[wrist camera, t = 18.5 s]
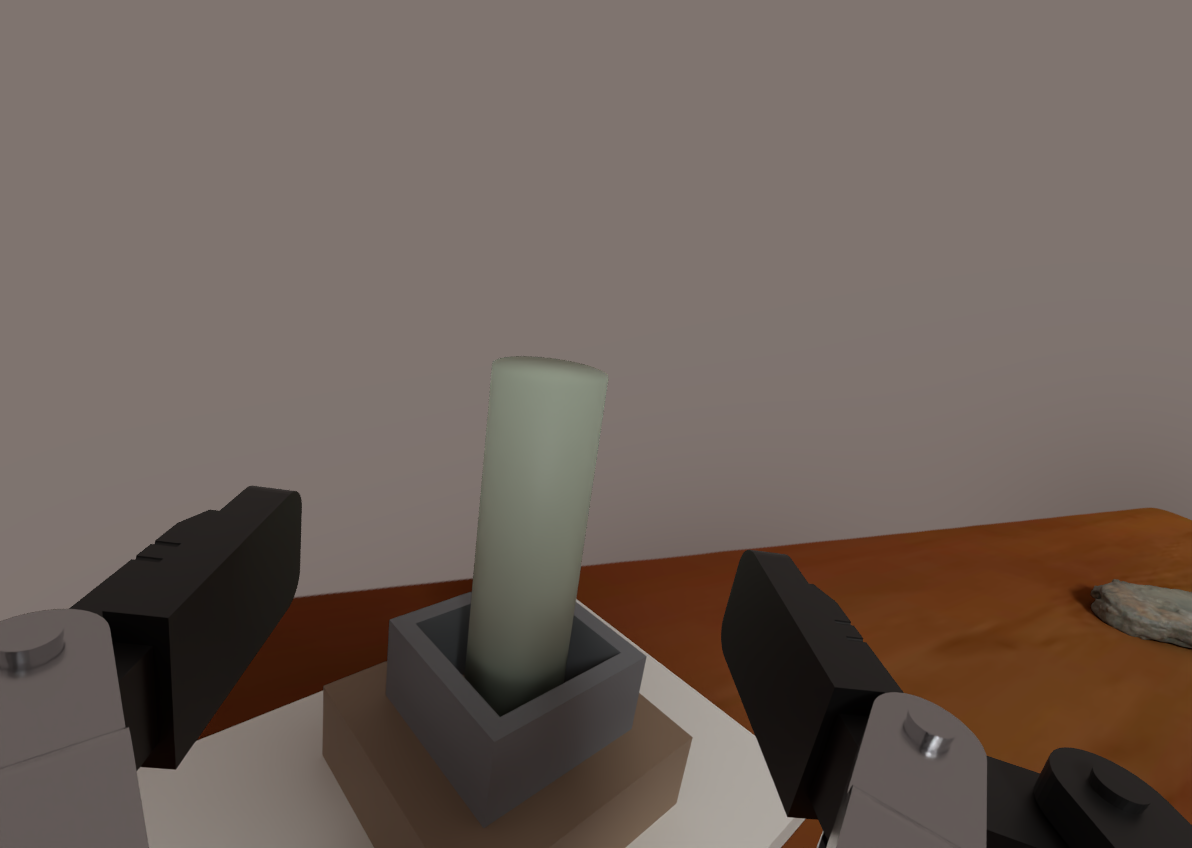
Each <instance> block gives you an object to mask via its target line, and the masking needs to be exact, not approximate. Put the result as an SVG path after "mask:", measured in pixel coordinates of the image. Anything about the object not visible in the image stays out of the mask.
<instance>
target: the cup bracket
mask: <svg viewBox="0 0 1192 848" xmlns="http://www.w3.org/2000/svg"><path fill="white" fill-rule="evenodd" d="M471 598H472V592H469V593H466V594H463V595H460V596H457V597H454V598H451V599H449V600H446V601H443V602H440V603H437V604H434V605H431V606H428V607H425V608H422V609H420V610H417V611H414V612H411V613H408V614H405V615H402V616H399V617H396V618H393V619H390V620H389V639H388V658H387V661H386V662H383V663H380V664H378V665H375V666H373V667H370V668H368V669H365V670H363V671H360V672H358V673H355V674H352V675H350V676H347V677H345V678H342V679H340V680H337V681H335V682H332V683H330V684H327V685H324V686H323V691H321V692H318V693H316V694H313V695H311V696H308V697H306V698H303V699H301V700H298V701H296V702H293V703H290V704H288V705H285V706H283V707H280V708H278V709H275V710H273V711H270V712H268V713H265V714H263V715H260V716H258V717H255V718H253V719H250V720H248V721H245V722H243V723H240V724H238V725H235V726H233V727H230V728H228V729H225V730H223V731H220V732H218V733H215V734H213V735H210V736H208V737H205V738H203V739H200V740H197V741H196V742H195V743H194V744H193V746H192V747H191V749H190V750H189V752H188V753H187V754H186V756H185V757H184V759H183V760H182V762H181V763H180V765H179V766H178V767H177V769H176V770H173V769H160V768H146V767H140V768H139V769H138V770H137V777H138V783H139V789H140V795H141V801H142V807H143V813H144V819H145V825H146V831H147V838H148V844H149V848H781V847H782V846H783V845H784V843H785V842H786V841H787V840H788V839H789V838H790V836H791V835H792V834H793V833H794V832H795V830H796V829H797V828H798V827H799V826H800V825H801V823H802V822H803V821H804V820H805V818H791V817H787V815H786V813H785V810H784V807H783V805H782V802H781V800H780V797H779V795H778V792H777V790H776V787H775V785H774V782H773V779H772V777H771V774H770V772H769V769H768V767H767V764H766V762H765V759H764V756H763V754H762V751H761V749H760V746H759V744H758V741H757V739H756V736H754V735H753V734H752V733H750V732H749V731H748V730H746V729H745V728H744V727H743V726H741V725H740V724H739V723H737V722H736V721H735V720H733V719H732V718H731V717H730V716H728V715H727V714H726V713H724V712H723V711H722V710H720V709H719V708H718V707H716V706H715V705H714V704H713V703H711V702H710V701H709V700H707V699H706V698H705V697H703V696H702V695H701V694H700V693H698V692H697V691H696V690H694V689H693V688H692V687H690V686H689V685H688V684H686V683H685V682H684V681H683V680H681V679H680V678H679V677H677V676H676V675H675V674H673V673H672V672H671V671H670V670H668V669H667V668H666V667H664V666H663V665H662V664H660V663H659V662H658V661H656V660H655V659H654V658H653V657H651V656H650V655H649V654H647V653H646V652H645V651H643V650H642V649H641V648H640V647H638V646H637V645H636V644H634V643H633V642H632V641H630V640H629V639H628V638H626V637H625V636H624V635H623V634H621V633H620V632H619V631H617V630H616V629H615V628H613V627H612V626H611V625H610V624H608V623H607V622H606V621H604V620H603V619H602V618H600V617H599V616H598V615H596V614H595V613H594V612H593V611H591V610H590V609H589V608H587V607H586V606H585V605H583V604H582V603H581V602H580V601H578V600H577V599H576V603H575V610H574V617H573V623H572V630H571V637H570V644H569V651H568V658H567V664H566V671H565V678H564V683H563V684H561V685H560V686H558V687H556V688H554V689H552V690H550V691H548V692H546V693H545V694H543V695H541V696H539V697H537V698H535V699H533V700H531V701H530V702H528V703H526V704H524V705H522V706H520V707H518V708H516V709H515V710H513V711H511V712H509V713H507V714H505V715H503V716H501V717H499V715H498V714H497V713H496V712H495V711H494V710H493V709H492V708H491V707H490V706H489V704H488V703H487V702H486V701H485V700H484V699H483V698H482V697H481V696H480V694H479V693H478V692H477V691H476V690H475V689H474V688H473V687H472V686H471V684H470V683H469V682H468V681H467V680H466V679H465V678H464V677H465V665H466V654H467V643H468V631H469V620H470V609H471Z"/></svg>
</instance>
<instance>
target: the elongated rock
mask: <svg viewBox="0 0 1192 848" xmlns="http://www.w3.org/2000/svg"><path fill="white" fill-rule="evenodd" d="M1091 596H1092V597H1093V598H1096V600H1095V602H1093V603H1092V604H1091V608H1092V611H1093V612H1094V613H1095V615H1096V616H1097V617H1099V618H1100V619H1101V620H1103V622H1105V623H1107V624H1108V625H1109V626H1112V627H1114V628H1116V629H1118V630H1119V631H1121V632H1124V633H1126V634H1128V635H1130V636H1134V637H1139V638H1141V639H1153V640H1157V641H1160V642H1169V643H1173V644H1175V645H1179V646H1182V647H1188V648H1192V592H1187V591H1183V590H1178V589H1168V588H1160V587H1156V586H1151V585H1144V586H1143V585H1136V584H1131V583H1127V582H1124V581H1122V582H1120V581H1119V580H1115V579H1114V580H1113V581H1112V583H1109V584H1105V585H1100V586H1095V587H1094V589H1093V590H1092V591H1091Z"/></svg>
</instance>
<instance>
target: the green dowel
mask: <svg viewBox="0 0 1192 848" xmlns="http://www.w3.org/2000/svg"><path fill="white" fill-rule="evenodd" d="M607 384H608V375H607V374H606V373H604V372H603V371H601V370H599V369H596V368H594V367H591V366H587V365H584V364H580V363H575V362H571V361H565V360H560V359H552V358H544V357H543V358H542V357H526V356H523V357H521V356H520V357H519V356H516V357H505V358H500V359H497V360H495V361H493V363H492V372H491V383H490V395H489V406H488V417H487V428H486V440H485V451H484V462H483V474H482V485H481V496H480V507H479V520H478V530H477V541H476V553H475V564H474V576H473V586H472V598H471V609H470V620H469V631H468V643H467V654H466V665H465V677H464V678H465V679H466V680H467V681H468V682H469V683H470V684H471V686H472V687H473V688H474V689H475V690H476V691H477V692H478V693H479V694H480V696H481V697H482V698H483V699H484V700H485V701H486V702H487V703H488V704H489V706H490V707H491V708H492V709H493V710H494V711H495V712H496V713H497V714H498V715H499V717H501V716H503V715H505V714H507V713H509V712H511V711H513V710H515V709H516V708H518V707H520V706H522V705H524V704H526V703H528V702H530V701H531V700H533V699H535V698H537V697H539V696H541V695H543V694H545V693H546V692H548V691H550V690H552V689H554V688H556V687H558V686H560V685H561V684H563V683H564V678H565V671H566V664H567V658H568V651H569V644H570V637H571V630H572V623H573V617H574V610H575V603H576V596H577V589H578V582H579V576H580V569H581V562H582V555H583V548H584V541H585V533H586V528H587V521H588V514H589V507H590V501H591V494H592V486H593V480H594V473H595V466H596V460H597V453H598V446H599V439H600V432H601V425H602V419H603V412H604V405H605V398H606V391H607Z"/></svg>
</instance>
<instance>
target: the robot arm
mask: <svg viewBox="0 0 1192 848" xmlns="http://www.w3.org/2000/svg"><path fill="white" fill-rule="evenodd" d="M301 513H302V503H301V497H300V495H299V493H298V492H297V491H289V490H282V489H274V488H266V487H257V486H249V487H247V488H246V489H245V490H243V491H242V492H241V493H240V494H239V495H238V496H236V497H235V498H234V499H233V500H232V501H231V502H229V503H228V504H227V505H226V506H225V507H224V508H222V509H221V510H220V511H216V510H208V511H206V512H203V513H201V514H198V515H196V516H193V517H191V518H189V519H186V520H184V521H181V522H179V523H177V524H176V525H175V526H173V527H172V528H171V529H169V530H168V531H167V532H166V533H165V534H163V535H162V536H161V537H160V538H158V539H157V540H156V541H155V544H150V545H149V546H148V547H147V548H145V549H144V550H143V551H142V552H140V553H139V554H138V555H137V556H136V559H135V560H130V561H129V562H128V563H127V564H125V565H124V566H123V567H121V568H120V569H119V570H118V571H116V572H115V573H114V574H112V575H111V576H110V577H109V578H108V579H106V580H105V581H104V582H102V583H101V584H100V585H99V586H97V587H96V588H95V589H93V590H92V591H91V592H90V593H88V594H87V595H86V596H85V597H83V598H82V599H81V600H80V601H78V602H77V603H76V604H75V605H73V606H72V607H71V608H69V609H53V610H44V611H38V612H32V613H27V614H23V615H19V616H15V617H12V618H9V619H6V620H3V621H0V848H149V844H148V838H147V831H146V825H145V819H144V813H143V807H142V801H141V795H140V789H139V783H138V777H137V770H138V769H139V768H140V767H146V768H160V769H173V770H176V769H177V767H178V766H179V765H180V763H181V762H182V760H183V759H184V757H185V756H186V754H187V753H188V752H189V750H190V749H191V747H192V746H193V744H194V743H195V742H196V740H197V739H198V737H199V736H200V734H201V733H202V731H203V730H204V729H205V727H206V726H207V724H208V723H209V721H210V720H211V719H212V717H213V716H214V714H215V713H216V711H217V710H218V708H219V707H220V706H221V704H222V703H223V701H224V700H225V698H226V697H227V696H228V694H229V693H230V691H231V690H232V688H233V687H234V686H235V684H236V683H237V681H238V680H239V678H240V677H241V675H242V674H243V673H244V671H245V670H246V668H247V667H248V665H249V664H250V663H251V661H252V660H253V658H254V657H255V655H256V654H257V652H258V651H259V650H260V648H261V647H262V645H263V644H264V642H265V641H266V640H267V638H268V637H269V635H270V634H271V632H272V631H273V629H274V628H275V627H276V625H277V624H278V622H279V621H280V619H281V618H282V617H283V615H284V614H285V612H286V611H287V609H288V608H289V606H290V604H291V602H292V600H293V598H294V595H295V592H296V589H297V585H298V580H299V574H300V548H301ZM721 642H722V650H723V654H724V657H725V659H726V662H727V664H728V667H729V670H730V672H731V675H732V677H733V680H734V682H735V685H736V687H737V690H738V693H739V695H740V698H741V700H742V703H743V705H744V708H745V710H746V713H747V716H748V718H749V721H750V723H751V726H752V728H753V731H754V733H755V736H756V739H757V741H758V744H759V746H760V749H761V751H762V754H763V756H764V759H765V762H766V764H767V767H768V769H769V772H770V774H771V777H772V779H773V782H774V785H775V787H776V790H777V792H778V795H779V797H780V800H781V802H782V805H783V807H784V810H785V813H786V815H787V817H791V818H805V819H818V820H819V822H820V824H821V827H822V829H823V833H822V835H821V838H820V840H819V843H818V845H817V848H1192V825H1191V824H1190V823H1189V822H1188V821H1187V820H1186V819H1185V818H1184V817H1183V816H1182V815H1181V814H1180V813H1179V812H1178V811H1177V810H1176V809H1175V808H1174V807H1173V806H1172V805H1171V804H1170V803H1169V802H1168V801H1167V800H1165V799H1164V798H1163V797H1162V796H1161V795H1160V794H1159V793H1158V792H1157V791H1155V790H1154V789H1153V788H1152V787H1151V786H1149V785H1148V784H1147V783H1145V782H1144V781H1143V780H1141V779H1140V778H1138V777H1137V776H1136V775H1134V774H1132V773H1131V772H1129V771H1128V770H1126V769H1124V768H1123V767H1121V766H1119V765H1117V764H1115V763H1114V762H1111V761H1109V760H1107V759H1105V758H1103V757H1101V756H1098V755H1096V754H1093V753H1090V752H1087V751H1084V750H1080V749H1075V748H1058V749H1056V750H1054V751H1053V752H1052V753H1051V754H1050V756H1049V758H1048V760H1047V762H1046V764H1045V766H1044V768H1043V770H1042V771H1041V773H1037V772H1034V771H1031V770H1028V769H1025V768H1022V767H1019V766H1016V765H1013V764H1010V763H1007V762H1004V761H1001V760H998V759H995V758H992V757H989V756H986V753H985V751H984V748H983V746H982V745H981V743H980V741H979V740H978V739H977V737H976V736H975V735H974V734H973V733H972V731H971V730H970V729H969V728H968V727H967V726H966V725H964V724H963V723H962V722H961V721H960V720H959V719H957V718H956V717H955V716H953V715H952V714H951V713H949V712H948V711H946V710H944V709H943V708H941V707H939V706H937V705H936V704H934V703H932V702H929V701H927V700H925V699H923V698H920V697H917V696H914V695H910V694H906V693H903V691H902V690H901V689H900V687H899V686H898V685H897V683H896V682H895V681H894V679H893V678H892V677H891V675H890V674H889V673H888V671H887V670H886V668H885V667H884V666H883V664H882V663H881V662H880V660H879V659H878V658H877V656H876V655H875V654H874V652H873V651H872V650H871V648H870V647H869V646H868V644H867V643H866V642H863V638H862V636H861V635H860V634H859V632H858V631H857V630H856V628H855V627H854V626H852V625H851V621H850V620H849V619H848V617H847V616H846V615H845V613H844V612H843V611H842V609H841V608H840V607H839V605H838V604H837V603H836V602H835V601H834V600H833V599H831V598H830V597H829V596H828V595H826V594H825V593H824V592H823V591H821V590H820V589H819V588H817V587H816V586H815V585H814V584H808V582H807V581H806V579H805V578H804V576H803V575H802V574H801V572H800V571H799V569H798V568H797V567H796V565H795V564H794V562H793V561H792V559H791V558H790V557H789V556H788V555H785V554H778V553H770V552H762V551H754V550H747V551H745V552H744V553H743V555H742V557H741V559H740V562H739V565H738V569H737V572H736V576H735V579H734V583H733V586H732V590H731V593H730V597H729V600H728V604H727V607H726V611H725V614H724V618H723V622H722V630H721Z"/></svg>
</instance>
